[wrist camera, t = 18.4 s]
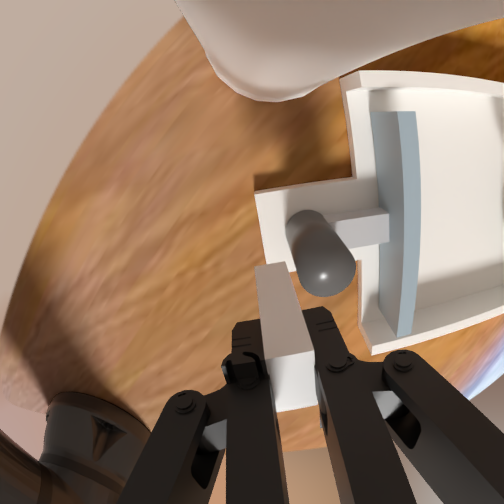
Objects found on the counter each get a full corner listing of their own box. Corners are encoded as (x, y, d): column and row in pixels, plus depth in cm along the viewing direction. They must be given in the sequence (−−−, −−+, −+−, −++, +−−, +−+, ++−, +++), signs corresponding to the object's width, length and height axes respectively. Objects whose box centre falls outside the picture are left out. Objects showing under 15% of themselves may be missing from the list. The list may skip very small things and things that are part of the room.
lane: (279, 340, 26) (286, 391, 21) (235, 91, 18) (230, 77, 13) (542, 270, 24) (572, 294, 19) (553, 100, 16) (592, 106, 11)
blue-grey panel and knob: (297, 323, 24) (308, 378, 18) (267, 122, 18) (276, 121, 13) (391, 304, 23) (422, 351, 18) (386, 111, 18) (434, 111, 12)
